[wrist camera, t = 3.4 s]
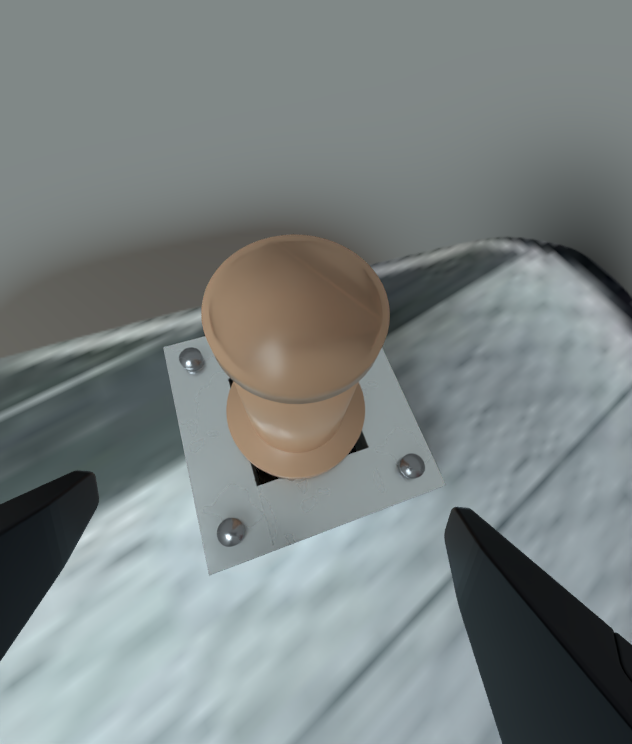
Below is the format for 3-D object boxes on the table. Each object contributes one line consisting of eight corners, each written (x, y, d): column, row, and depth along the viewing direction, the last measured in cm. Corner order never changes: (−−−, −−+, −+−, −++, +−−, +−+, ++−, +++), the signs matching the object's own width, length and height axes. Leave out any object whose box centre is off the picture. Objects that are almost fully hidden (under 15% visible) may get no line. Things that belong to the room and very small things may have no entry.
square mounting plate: (426, 490, 21) (451, 483, 17) (222, 568, 18) (206, 577, 15) (351, 321, 25) (359, 290, 22) (179, 368, 23) (159, 342, 20)
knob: (370, 402, 23) (453, 265, 11) (323, 508, 20) (363, 481, 8) (273, 357, 24) (250, 184, 12) (216, 452, 21) (110, 354, 9)
